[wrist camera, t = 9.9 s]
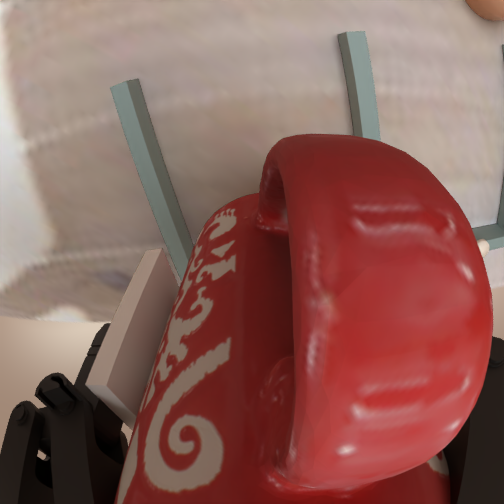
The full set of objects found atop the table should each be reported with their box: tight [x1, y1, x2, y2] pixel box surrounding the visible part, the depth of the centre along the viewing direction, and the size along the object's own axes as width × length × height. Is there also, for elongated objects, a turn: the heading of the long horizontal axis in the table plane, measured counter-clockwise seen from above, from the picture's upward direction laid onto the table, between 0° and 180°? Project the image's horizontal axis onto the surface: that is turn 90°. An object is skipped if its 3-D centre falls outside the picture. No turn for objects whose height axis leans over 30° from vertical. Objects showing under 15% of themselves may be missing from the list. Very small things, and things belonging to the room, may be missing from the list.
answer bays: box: [110, 31, 504, 281], centre depth 20 cm, size 31×18×3 cm, turn 102°
